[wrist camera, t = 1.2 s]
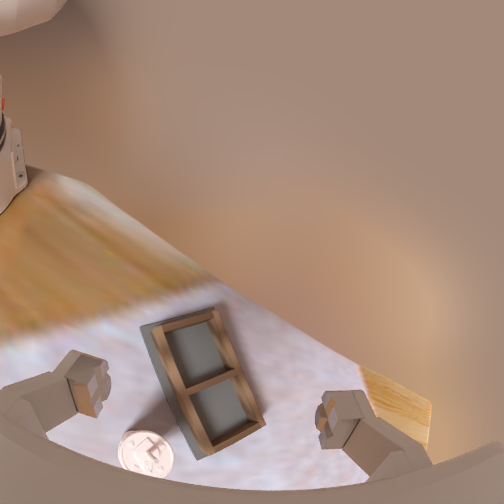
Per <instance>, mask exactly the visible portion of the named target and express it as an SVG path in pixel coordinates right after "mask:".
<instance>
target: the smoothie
mask: <svg viewBox="0 0 504 504" xmlns="http://www.w3.org/2000/svg"><path fill="white" fill-rule="evenodd" d="M118 456H119V460H120V462H121V465H122V466H123V467H124V469H126V470H129V471H133V472H137V473H140V474H144V475H148V476H152V477H157V478H163V477H165V476H166V475H167V474H168V473H169V472H170V471H171V469H172V467H173V465H174V452H173V449H172V447H171V445H170V444H169V443H168V442H167V440H165V439H164V438H163V437H162V436H160V435H159V434H157V433H155V432H153V431H148V430H137V431H127V432H125V433H124V434H123V435H122V437H121V442H120V445H119V448H118Z"/></svg>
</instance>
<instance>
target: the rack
mask: <svg viewBox="0 0 504 504" xmlns="http://www.w3.org/2000/svg"><path fill="white" fill-rule="evenodd" d="M204 322H207V325H208V327H209V330H210V332H211V335H212V337H213V340H214V342H215V345H216V347H217V350H218V352H219V355H220V357H221V359H222V362H223V364H224V367H225V369H226V371H224V372H221V373H219V374H217V375H214V376H212V377H209V378H207V379H205V380H202V381H200V382H197V383H194V384H192V385H189V386H187V387H185V386H184V384H183V381H182V379H181V376H180V374H179V371H178V369H177V366H176V364H175V361H174V359H173V356H172V354H171V351H170V348H169V346H168V343H167V340H166V338H165V335H164V334H167V333H171V332H174V331H178V330H181V329H184V328H188V327H191V326H194V325H198V324H201V323H204ZM150 333H151V335H152V338H153V341H154V344H155V347H156V349H157V352H158V355H159V357H160V360H161V363H162V365H163V368H164V370H165V373H166V375H167V378H168V380H169V383H170V385H171V387H172V390H173V392H174V394H175V397H176V399H177V401H178V404H179V406H180V408H181V410H182V412H183V415H184V417H185V419H186V421H187V423H188V425H189V427H190V429H191V432H192V434H193V436H194V438H195V440H196V442H197V444H198V446H199V447H200V449H201V451H202V452H203V453H205V454H208V455H212V454H214V453H216V452H218V451H220V450H222V449H224V448H226V447H228V446H230V445H232V444H234V443H235V442H237V441H239V440H241V439H243V438H244V437H246V436H248V435H250V434H251V433H253V432H255V431H257V430H258V429H260V428H262V427H263V426H265V425H266V423H265V421H264V418H263V416H262V414H261V412H260V410H259V407H258V405H257V403H256V401H255V399H254V396H253V394H252V392H251V390H250V387H249V385H248V383H247V380H246V378H245V376H244V373H243V371H242V369H241V366H240V364H239V362H238V359H237V357H236V355H235V352H234V350H233V347H232V345H231V342H230V340H229V338H228V335H227V333H226V330H225V328H224V325H223V323H222V320H221V318H220V315H219V313H218V310H214V311H211V312H207V313H204V314H200V315H197V316H193V317H190V318H186V319H183V320H179V321H176V322H172V323H169V324H165V325H161V326H158V327H154V328H153V329H152V330H151V331H150ZM229 378H230V381H231V383H232V385H233V387H234V390H235V392H236V394H237V397H238V399H239V401H240V403H241V405H242V408H243V410H244V412H245V414H246V416H247V418H248V421H249V422H247V423H245V424H243V425H242V426H240V427H238V428H236V429H234V430H232V431H230V432H228V433H226V434H224V435H222V436H220V437H218V438H216V439H214V440H212V441H210V440H209V438H208V436H207V434H206V432H205V430H204V428H203V426H202V424H201V422H200V419H199V417H198V415H197V413H196V411H195V409H194V406H193V404H192V402H191V400H190V397H189V395H191V394H194V393H196V392H199V391H201V390H204V389H206V388H208V387H211V386H213V385H215V384H218V383H220V382H222V381H225V380H227V379H229Z"/></svg>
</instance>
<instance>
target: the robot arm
mask: <svg viewBox="0 0 504 504" xmlns="http://www.w3.org/2000/svg"><path fill="white" fill-rule="evenodd" d="M66 1H67V0H0V36H2V35H7V34H11V33H15V32H18V31H20V30H23V29H26V28H29V27H31V26H34V25H37V24H40V23H43V22H46V21H48V20H50V19H51V18H52V17H53V16H54V15H55V14H56V13H57V12H58V11H59V10H60V9H61V8H62V7H63V5H64V4H65V3H66ZM1 95H2V77H1V74H0V214H1V213H2V212H3V211H4V210H5V209H6V207H7V206H8V205H9V203H10V202H11V200H12V199H13V197H14V196H15V195H16V194H17V193H19V192H20V191H21V190H23V189H24V188H25V187H26V186H27V184H28V180H27V174H26V167H25V161H24V154H23V144H22V134H21V130H19V129H17V128H13V127H12V124H11V120H10V119H9V118H7V117H4V115H3V113H2V110H3V109H4V105H5V99H4V98H2V96H1ZM19 177H21V178H19ZM108 369H109V367H108V362H107V361H106V360H104V359H101V358H97V357H94V356H91V355H88V354H85V353H81V352H78V351H76V350H71V351H70V352H69V353H68V354H67V355H66V356H65V358H64V359H63V360H62V361H61V362H60V364H59V365H58V366H57V367H56V369H55V370H54V371H53V372H46V373H43V374H40V375H38V376H35V377H32V378H29V379H26V380H23V381H20V382H17V383H14V384H11V385H8V386H5V387H3V388H2V389H1V391H0V504H504V444H503V443H501V442H498V441H493V442H490V443H488V444H486V445H483V446H481V447H479V448H477V449H475V450H472V451H470V452H468V453H465V454H463V455H460V456H458V457H456V458H453V459H450V460H447V461H445V462H442V463H439V464H436V465H432V463H431V461H430V459H429V457H428V455H427V453H426V451H425V449H424V448H423V446H422V444H420V443H419V442H417V441H415V440H414V439H412V438H411V437H409V436H408V435H406V434H404V433H403V432H401V431H400V430H398V429H397V428H395V427H394V426H392V425H391V424H389V423H388V422H386V421H385V420H383V419H382V418H380V417H376V416H375V414H374V411H373V409H372V407H371V405H370V403H369V401H368V399H367V397H366V395H365V393H364V391H362V390H350V391H325V392H324V393H323V396H322V401H323V403H322V404H320V405H319V406H318V407H317V410H316V414H315V425H316V428H317V429H318V430H319V431H320V432H321V433H320V435H319V436H318V437H319V441H320V445H321V449H341V448H343V449H342V450H343V451H344V452H345V453H346V454H347V455H348V456H349V457H350V458H351V459H352V460H353V461H354V462H355V463H356V464H357V465H358V466H359V467H360V468H361V469H363V470H364V471H365V472H366V473H367V474H368V475H369V476H370V477H369V478H368V480H367V481H366V482H365V483H360V484H353V485H347V486H339V487H330V488H320V489H307V490H281V491H266V490H240V489H227V488H217V487H208V486H201V485H194V484H187V483H182V482H176V481H171V480H166V479H161V478H157V477H152V476H148V475H144V474H140V473H137V472H133V471H129V470H126V469H123V468H119V467H116V466H113V465H110V464H107V463H104V462H101V461H98V460H95V459H93V458H90V457H87V456H85V455H82V454H80V453H77V452H75V451H72V450H70V449H68V448H65V447H63V446H61V445H59V444H56V443H54V442H52V441H50V440H49V439H48V437H47V435H46V432H47V431H49V430H51V429H52V428H54V427H56V426H57V425H59V424H61V423H63V422H64V421H66V420H67V419H69V418H71V417H72V416H74V415H76V414H77V412H78V413H81V414H84V415H87V416H90V417H93V418H97V417H98V415H99V413H100V412H101V410H102V408H103V406H102V401H104V400H106V399H107V398H108V396H109V394H110V390H111V378H110V376H109V375H108V374H107V371H108Z"/></svg>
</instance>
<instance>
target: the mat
mask: <svg viewBox="0 0 504 504" xmlns="http://www.w3.org/2000/svg"><path fill="white" fill-rule="evenodd" d="M214 310H215V309H214V307H212V308H208V309H205V310H201V311H198V312H194V313H191V314H187V315H183V316H180V317H176V318H173V319H169V320H165V321H161V322H158V323H154V324H150V325H146V326H142V327H140V330H141V333H142V336H143V339H144V342H145V345H146V347H147V350H148V353H149V356H150V358H151V361H152V364H153V366H154V369H155V371H156V374H157V377H158V379H159V381H160V384H161V386H162V389H163V391H164V394H165V396H166V398H167V400H168V403H169V405H170V407H171V410H172V412H173V414H174V416H175V418H176V420H177V423H178V425H179V427H180V429H181V431H182V433H183V435H184V437H185V439H186V441H187V443H188V445H189V447H190V449H191V451H192V453H193V455H194V456H195V458H196V460H197V461H198V460H200V459H202V458H204V457H206V456H208V454H205V453H203V452H202V451H201V449H200V447H199V446H198V444H197V442H196V440H195V438H194V436H193V434H192V432H191V429H190V427H189V425H188V423H187V421H186V419H185V417H184V415H183V412H182V410H181V408H180V406H179V404H178V401H177V399H176V397H175V394H174V392H173V390H172V387H171V385H170V383H169V380H168V378H167V375H166V373H165V370H164V368H163V365H162V363H161V360H160V357H159V355H158V352H157V349H156V347H155V344H154V341H153V338H152V335H151V333H150V331H151V330H152V329H153V328H154V327H158V326H161V325H165V324H169V323H172V322H176V321H179V320H183V319H186V318H190V317H193V316H197V315H200V314H204V313H207V312H211V311H214ZM164 335H165V338H166V340H167V343H168V346H169V348H170V351H171V354H172V356H173V359H174V361H175V364H176V366H177V369H178V371H179V374H180V376H181V379H182V381H183V384H184V386H185V387H187V386H189V385H192V384H194V383H197V382H200V381H202V380H205V379H207V378H209V377H212V376H214V375H217V374H219V373H221V372H224V371H226V369H225V367H224V364H223V362H222V359H221V357H220V355H219V352H218V350H217V347H216V345H215V342H214V340H213V337H212V335H211V332H210V330H209V327H208V325H207V322H204V323H201V324H198V325H194V326H191V327H188V328H184V329H181V330H178V331H174V332H171V333H167V334H164ZM189 397H190V400H191V402H192V404H193V406H194V409H195V411H196V413H197V415H198V417H199V419H200V422H201V424H202V426H203V428H204V430H205V432H206V434H207V436H208V438H209V440H210V441H212V440H214V439H216V438H218V437H220V436H222V435H224V434H226V433H228V432H230V431H232V430H234V429H236V428H238V427H240V426H242V425H243V424H245V423H247V422H249V421H248V418H247V416H246V414H245V412H244V410H243V408H242V405H241V403H240V401H239V399H238V397H237V394H236V392H235V390H234V387H233V385H232V383H231V381H230V378H229V379H227V380H225V381H222V382H220V383H218V384H215V385H213V386H211V387H208V388H206V389H204V390H201V391H199V392H196V393H194V394H191V395H189Z"/></svg>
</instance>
